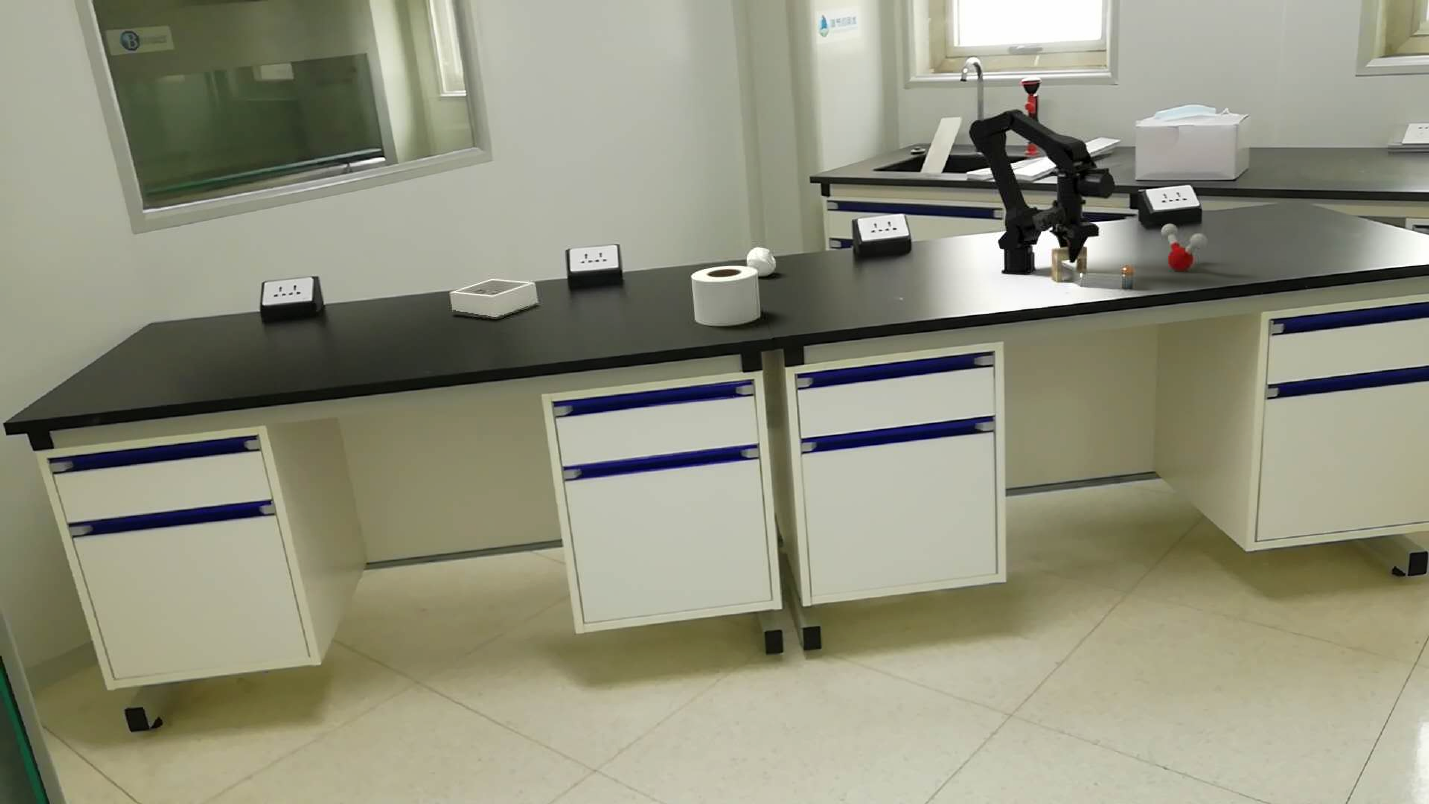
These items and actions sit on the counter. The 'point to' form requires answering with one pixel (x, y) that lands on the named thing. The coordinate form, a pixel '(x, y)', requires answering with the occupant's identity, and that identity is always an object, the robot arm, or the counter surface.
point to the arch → (1063, 255)
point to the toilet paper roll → (726, 295)
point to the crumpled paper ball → (761, 261)
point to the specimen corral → (494, 297)
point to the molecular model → (1182, 248)
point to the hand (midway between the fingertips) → (1069, 261)
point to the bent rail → (1099, 278)
